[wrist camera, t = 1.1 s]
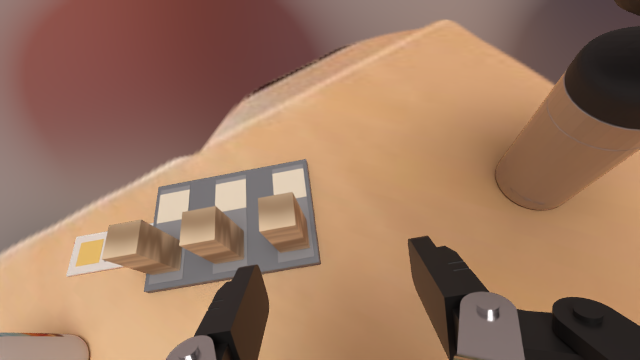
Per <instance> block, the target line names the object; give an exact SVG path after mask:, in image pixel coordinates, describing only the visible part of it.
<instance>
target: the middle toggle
mask: <svg viewBox="0 0 640 360" xmlns="http://www.w3.org/2000/svg"><path fill="white" fill-rule="evenodd" d="M179 246H181V247H183V248H185V249H186V250H188V251H190V252H192V253H194V254H196V255H198V256H200V257H202V258H204V259H206V260H208V261H210V262H212V263H214V264H219V263H225V262H231V261H237V260H243V259H244V231H243V230H242V229H241V228H240V227H239V226H238V225H236V224H235V223H234V222H233V221H232V220H231V219H230V218H229V217H227V216H226V215H225V214H224V213H223V212H222V211H221V210H220V209H218V208H217V207H216V206H213V207H207V208H202V209H197V210H191V211H186V212H182V221H181V232H180V242H179Z"/></svg>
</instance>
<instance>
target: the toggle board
mask: <svg viewBox="0 0 640 360" xmlns="http://www.w3.org/2000/svg"><path fill="white" fill-rule="evenodd" d="M289 192H293V194H294V196H295V198H296V200H297V202H298V204H299V206H300V208H301V210H302V212H303V214H304V216H305V218H306V220H307V228H308V237H309V245H310V248H306V249H300V250H295V251H289V252H283V253H280V252H279V251H278V250H277V249H276V248H275V247H274V246H273V245H272V244H271V243H270V242H269V241H268V240H267V239H266V238H265V237H264V236H263V235H262V234H261V233H260V232H259V212H258V198H262V197H267V196H272V195H278V194H283V193H289ZM213 206H216V207H217V208H218V209H220V210H221V211H222V212H223V213H224V214H225V215H226V216H227V217H229V218H230V219H231V220H232V221H233V222H234V223H235V224H236V225H238V226H239V227H240V228H241V229H242V230H243V231H244V259H243V260H237V261H231V262H225V263H219V264H214V263H212V262H210V261H208V260H206V259H204V258H202V257H200V256H198V255H196V254H194V253H192V252H190V251H188V250H186V249H185V248H183V247H182V254H181V265H180V270H179V271H173V272H167V273H161V274H155V275H150V274H146V281H145V288H144V292H147V293H153V292H158V291H164V290H170V289H176V288H182V287H188V286H194V285H200V284H206V283H212V282H218V281H224V280H230V279H233V277H234V275H235V273H236V271H237V269H238V268H239V267H244V266H250V265H256V264H257V265H258V266H259V268H260V271H261V274H265V273H271V272H277V271H283V270H289V269H295V268H301V267H307V266H313V265H319V264H321V263H320V255H319V247H318V240H317V232H316V225H315V217H314V210H313V202H312V195H311V187H310V180H309V172H308V165H307V161H306V159H304V160H299V161H294V162H288V163H283V164H278V165H272V166H267V167H262V168H257V169H251V170H246V171H241V172H236V173H230V174H225V175H220V176H215V177H209V178H204V179H199V180H193V181H188V182H183V183H178V184H172V185H167V186H162V187H159V188H158V195H157V203H156V210H155V217H154V224H153V226H154V227H156V228H158V229H160V230H161V231H163V232H165V233H167V234H169V235H171V236H173V237H174V238H176V239H178V240H180V232H181V221H182V212H186V211H191V210H197V209H202V208H207V207H213Z"/></svg>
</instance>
